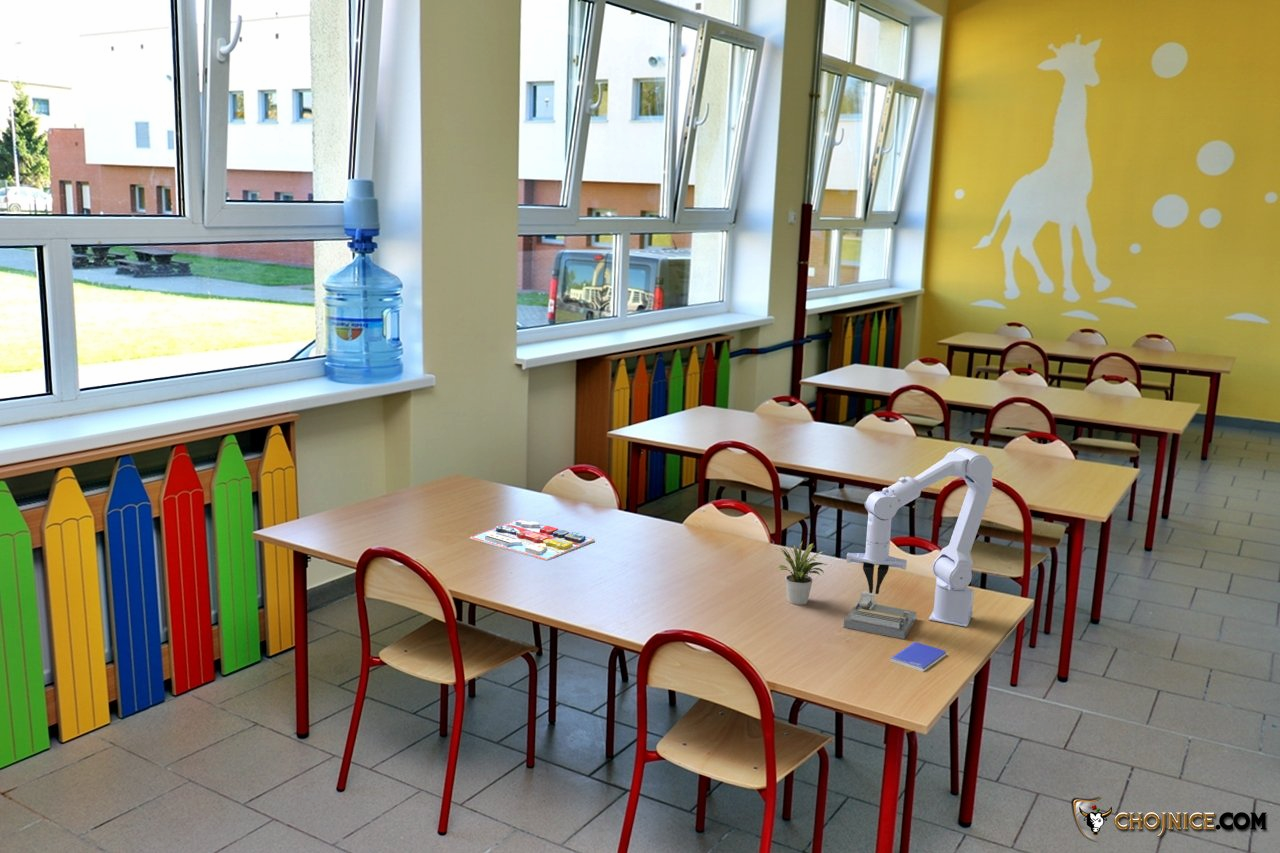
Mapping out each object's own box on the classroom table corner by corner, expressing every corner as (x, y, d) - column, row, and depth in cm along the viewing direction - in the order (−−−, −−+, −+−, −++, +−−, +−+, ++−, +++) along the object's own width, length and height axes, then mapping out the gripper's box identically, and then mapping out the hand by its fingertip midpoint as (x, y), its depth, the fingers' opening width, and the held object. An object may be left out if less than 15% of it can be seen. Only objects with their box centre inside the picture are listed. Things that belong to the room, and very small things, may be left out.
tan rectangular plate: (903, 619, 273) (903, 617, 273) (900, 623, 271) (900, 620, 271) (859, 610, 278) (859, 608, 278) (856, 614, 275) (857, 612, 275)
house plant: (778, 613, 279) (782, 553, 276) (758, 594, 292) (762, 536, 289) (830, 609, 283) (834, 549, 280) (808, 590, 296) (812, 533, 293)
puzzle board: (468, 541, 330) (468, 532, 330) (519, 523, 349) (519, 515, 348) (546, 563, 313) (547, 554, 313) (595, 543, 332) (595, 535, 331)
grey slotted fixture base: (916, 618, 279) (917, 604, 278) (903, 639, 266) (905, 624, 265) (858, 607, 285) (859, 593, 284) (843, 627, 272) (844, 612, 271)
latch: (873, 603, 283) (874, 592, 282) (868, 610, 278) (869, 598, 277) (862, 601, 284) (863, 590, 283) (857, 608, 279) (858, 596, 278)
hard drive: (923, 667, 248) (946, 650, 258) (890, 657, 253) (914, 641, 263) (922, 673, 248) (945, 657, 258) (890, 663, 254) (913, 647, 263)
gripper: (909, 539, 272) (904, 590, 275) (850, 532, 277) (846, 583, 279) (907, 547, 266) (902, 600, 269) (847, 540, 270) (843, 592, 273)
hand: (874, 592), depth 274 cm, fingers closed
